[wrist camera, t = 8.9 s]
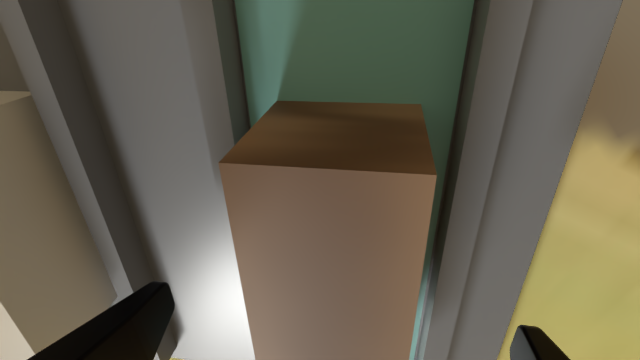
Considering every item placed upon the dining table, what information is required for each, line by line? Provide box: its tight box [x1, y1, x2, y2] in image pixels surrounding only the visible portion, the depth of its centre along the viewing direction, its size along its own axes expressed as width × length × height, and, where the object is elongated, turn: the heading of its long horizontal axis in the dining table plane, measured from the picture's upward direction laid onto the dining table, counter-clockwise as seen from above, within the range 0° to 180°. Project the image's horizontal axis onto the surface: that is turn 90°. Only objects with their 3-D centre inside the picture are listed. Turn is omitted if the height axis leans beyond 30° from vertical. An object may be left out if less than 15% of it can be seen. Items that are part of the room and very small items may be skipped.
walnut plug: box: [218, 101, 437, 360], centre depth 11 cm, size 4×12×4 cm, turn 2°
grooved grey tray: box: [0, 0, 623, 360], centre depth 13 cm, size 24×18×2 cm
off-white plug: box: [0, 91, 118, 360], centre depth 13 cm, size 4×12×4 cm, turn 2°
